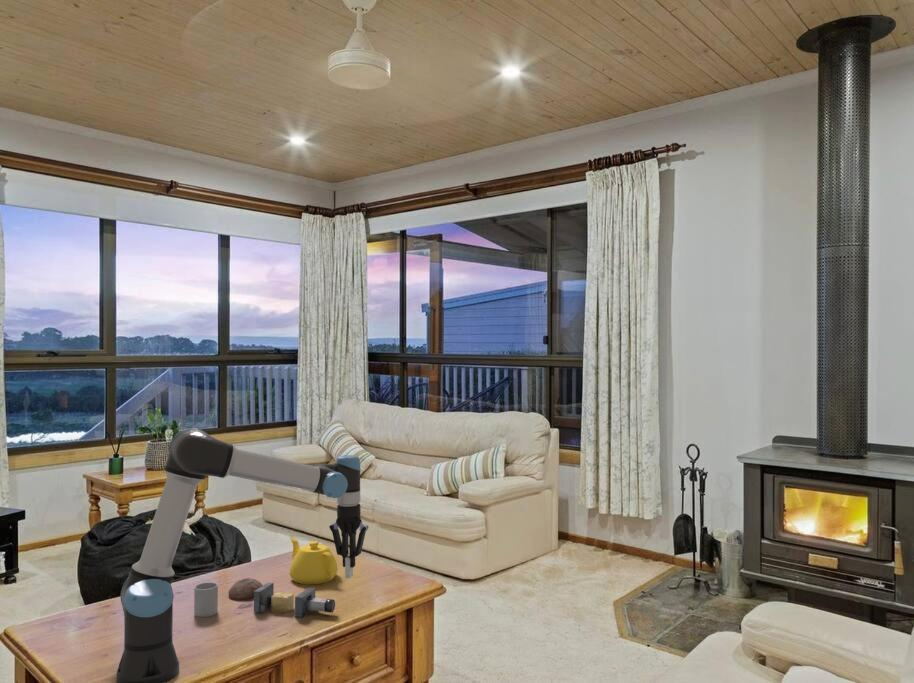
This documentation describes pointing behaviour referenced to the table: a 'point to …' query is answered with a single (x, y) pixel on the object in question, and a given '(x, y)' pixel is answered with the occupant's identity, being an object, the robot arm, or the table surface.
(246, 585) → the decorative stone
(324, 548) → the teapot
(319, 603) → the shaft
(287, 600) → the block
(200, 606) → the cup
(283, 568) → the table surface
